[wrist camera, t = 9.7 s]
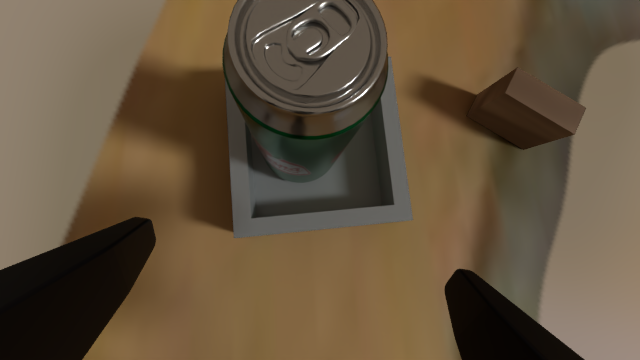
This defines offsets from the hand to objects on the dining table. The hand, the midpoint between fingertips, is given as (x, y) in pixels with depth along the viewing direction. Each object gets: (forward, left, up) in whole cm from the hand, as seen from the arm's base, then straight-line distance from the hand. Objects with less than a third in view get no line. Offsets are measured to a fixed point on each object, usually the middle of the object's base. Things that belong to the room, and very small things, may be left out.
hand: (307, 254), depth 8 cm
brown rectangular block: (+7, -16, -11) cm, 20 cm away
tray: (+6, -1, -11) cm, 12 cm away
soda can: (+6, -1, -11) cm, 12 cm away
